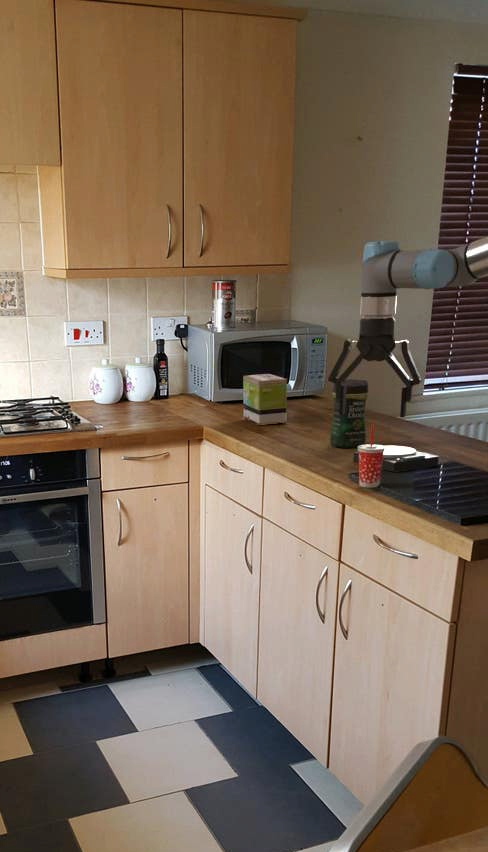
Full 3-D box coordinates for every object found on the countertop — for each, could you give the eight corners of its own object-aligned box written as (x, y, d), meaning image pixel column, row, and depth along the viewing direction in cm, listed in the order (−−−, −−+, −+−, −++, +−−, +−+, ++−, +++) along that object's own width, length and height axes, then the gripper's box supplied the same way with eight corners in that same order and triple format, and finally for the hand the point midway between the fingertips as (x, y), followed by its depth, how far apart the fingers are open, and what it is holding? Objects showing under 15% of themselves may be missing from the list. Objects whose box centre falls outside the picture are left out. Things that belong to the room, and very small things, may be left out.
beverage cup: (362, 481, 206) (365, 421, 202) (387, 484, 203) (390, 423, 198) (351, 486, 202) (354, 425, 197) (376, 489, 198) (380, 427, 194)
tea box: (242, 419, 296) (242, 375, 291) (270, 417, 299) (270, 373, 294) (258, 426, 282) (258, 379, 278) (287, 424, 285) (288, 377, 280)
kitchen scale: (438, 466, 219) (439, 453, 218) (393, 472, 214) (394, 459, 213) (395, 455, 233) (396, 443, 232) (353, 461, 227) (353, 449, 226)
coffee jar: (339, 449, 243) (341, 381, 237) (326, 444, 250) (328, 378, 244) (370, 446, 245) (373, 379, 239) (356, 442, 252) (359, 376, 246)
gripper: (439, 316, 188) (431, 414, 196) (325, 316, 198) (322, 410, 205) (434, 318, 182) (426, 420, 189) (316, 318, 192) (313, 415, 199)
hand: (372, 415), depth 197 cm, fingers open, 13 cm apart
